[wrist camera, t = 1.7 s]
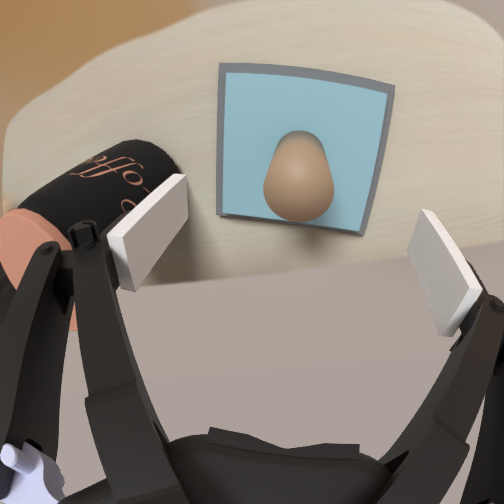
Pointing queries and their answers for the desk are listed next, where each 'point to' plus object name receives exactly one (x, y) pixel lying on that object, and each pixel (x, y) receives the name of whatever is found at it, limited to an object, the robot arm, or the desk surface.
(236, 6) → the desk surface
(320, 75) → the mat
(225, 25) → the desk surface
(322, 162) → the lid
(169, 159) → the coffee jar
